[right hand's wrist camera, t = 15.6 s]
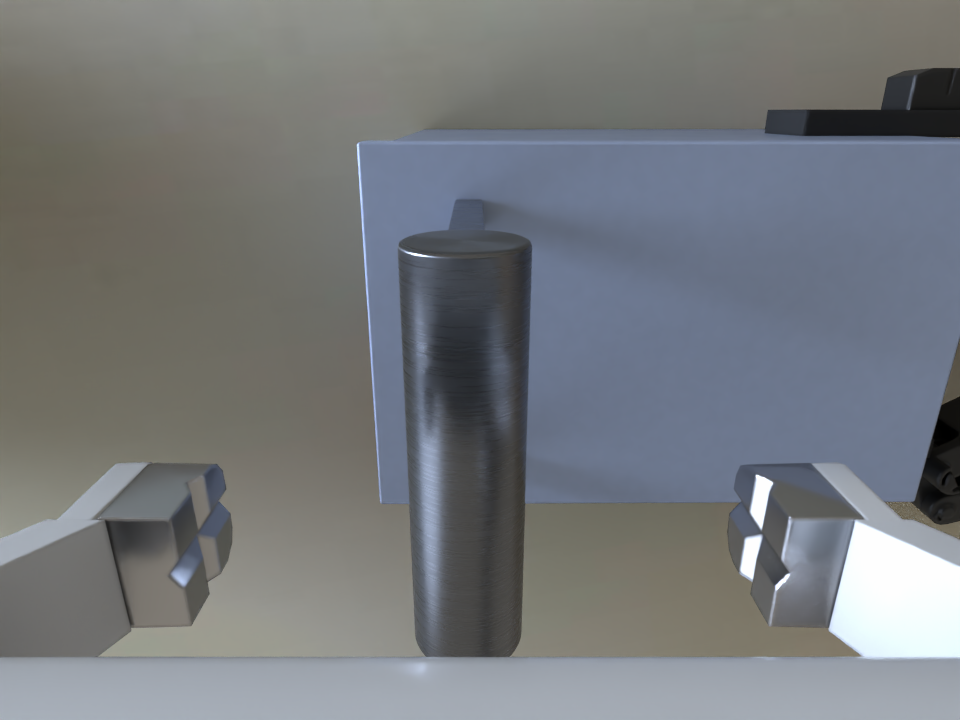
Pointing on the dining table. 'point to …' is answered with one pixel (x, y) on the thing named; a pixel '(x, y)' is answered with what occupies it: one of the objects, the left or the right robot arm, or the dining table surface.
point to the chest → (625, 135)
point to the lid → (641, 334)
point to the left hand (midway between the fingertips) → (757, 291)
